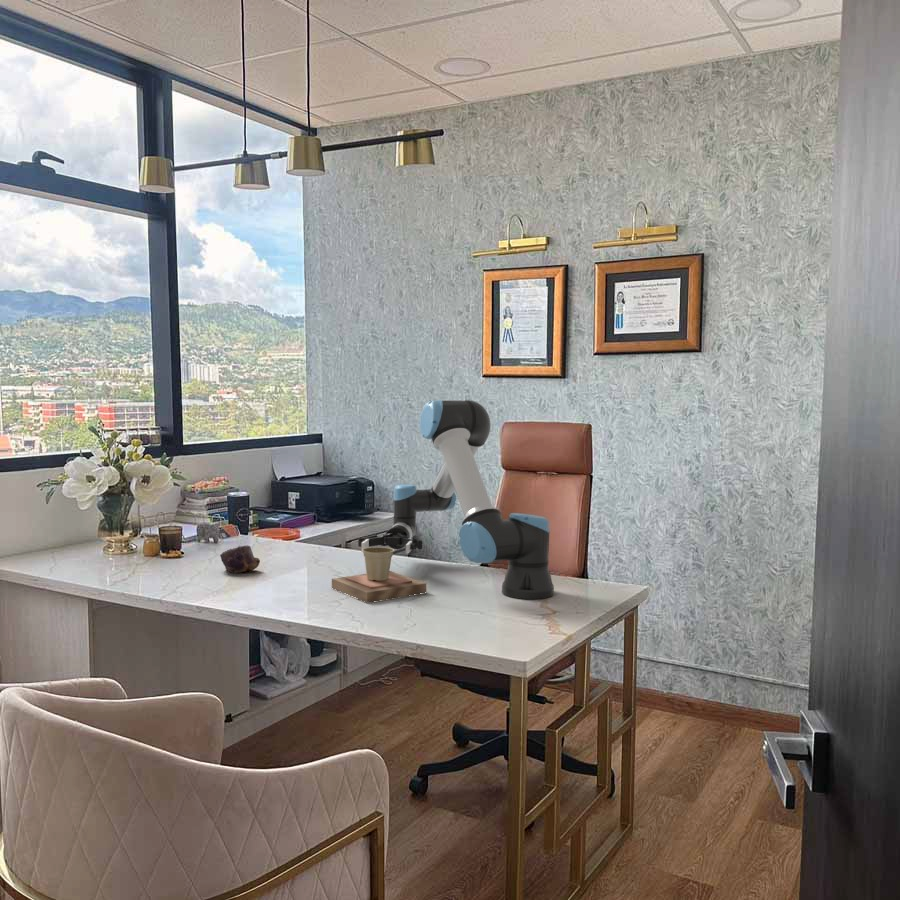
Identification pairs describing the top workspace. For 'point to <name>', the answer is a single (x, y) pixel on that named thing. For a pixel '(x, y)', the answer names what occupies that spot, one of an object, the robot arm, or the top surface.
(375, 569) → the flower pot
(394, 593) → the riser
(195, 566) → the top surface
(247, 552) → the rock
